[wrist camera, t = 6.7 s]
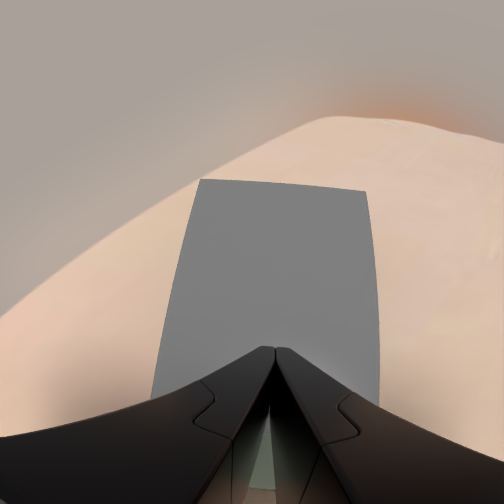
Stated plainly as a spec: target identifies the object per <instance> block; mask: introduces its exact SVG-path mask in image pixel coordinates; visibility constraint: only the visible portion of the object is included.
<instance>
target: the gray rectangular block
mask: <svg viewBox="0 0 504 504" xmlns="http://www.w3.org/2000/svg"><path fill="white" fill-rule="evenodd" d="M259 346H273V347H275V348H276V347H287V348H291V349H292V350H293V351H295V352H296V353H298V354H299V355H301V356H302V357H303V358H305V359H306V360H308V361H309V362H311V363H312V364H313V365H315V366H316V367H318V368H319V369H321V370H322V371H324V372H325V373H327V374H328V375H329V376H331V377H332V378H334V379H335V380H337V381H338V382H340V383H341V384H343V385H344V386H346V387H347V388H349V389H350V390H352V391H353V392H356V393H357V394H359V395H360V396H362V397H363V398H365V399H367V400H368V401H370V402H372V403H373V404H375V405H377V406H378V407H379V379H380V342H379V312H378V294H377V280H376V269H375V258H374V248H373V239H372V231H371V223H370V216H369V209H368V202H367V196H366V192H364V191H356V190H348V189H339V188H329V187H319V186H308V185H297V184H285V183H271V182H256V181H238V180H216V179H200V182H199V185H198V189H197V192H196V196H195V199H194V203H193V206H192V210H191V214H190V217H189V221H188V225H187V229H186V232H185V236H184V240H183V244H182V248H181V252H180V256H179V260H178V264H177V269H176V273H175V277H174V281H173V286H172V290H171V295H170V299H169V304H168V308H167V313H166V318H165V323H164V328H163V332H162V337H161V343H160V348H159V353H158V358H157V364H156V370H155V375H154V381H153V387H152V393H151V399H154V398H157V397H160V396H162V395H165V394H168V393H170V392H173V391H175V390H177V389H180V388H182V387H184V386H186V385H188V384H190V383H192V382H194V381H196V380H199V379H201V378H203V377H205V376H207V375H209V374H211V373H213V372H214V371H216V370H218V369H220V368H222V367H224V366H226V365H227V364H229V363H231V362H233V361H235V360H236V359H238V358H240V357H242V356H244V355H245V354H247V353H249V352H251V351H252V350H254V349H256V348H258V347H259ZM151 399H150V400H151ZM269 409H270V407H269ZM264 433H267V434H271V431H270V419H269V414H268V419H267V423H266V427H265V430H264Z"/></svg>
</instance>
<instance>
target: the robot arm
mask: <svg viewBox="0 0 504 504" xmlns="http://www.w3.org/2000/svg"><path fill="white" fill-rule="evenodd" d="M269 407H270V409H269ZM268 414H269V419H270V431H271V443H272V454H273V466H274V478H275V489H276V501H277V504H504V462H503V461H500V460H497V459H495V458H492V457H489V456H487V455H484V454H482V453H479V452H477V451H474V450H472V449H469V448H467V447H464V446H462V445H460V444H457V443H455V442H452V441H450V440H448V439H446V438H443V437H441V436H439V435H436V434H434V433H432V432H430V431H428V430H425V429H423V428H421V427H419V426H417V425H415V424H413V423H410V422H408V421H406V420H404V419H402V418H400V417H398V416H396V415H394V414H392V413H390V412H388V411H386V410H384V409H382V408H380V407H378V406H377V405H375V404H373V403H372V402H370V401H368V400H367V399H365V398H363V397H362V396H360V395H359V394H357V393H356V392H353V391H352V390H350V389H349V388H347V387H346V386H344V385H343V384H341V383H340V382H338V381H337V380H335V379H334V378H332V377H331V376H329V375H328V374H327V373H325V372H324V371H322V370H321V369H319V368H318V367H316V366H315V365H313V364H312V363H311V362H309V361H308V360H306V359H305V358H303V357H302V356H301V355H299V354H298V353H296V352H295V351H293V350H292V349H291V348H287V347H276V348H275V347H273V346H259V347H258V348H256V349H254V350H252V351H251V352H249V353H247V354H245V355H244V356H242V357H240V358H238V359H236V360H235V361H233V362H231V363H229V364H227V365H226V366H224V367H222V368H220V369H218V370H216V371H214V372H213V373H211V374H209V375H207V376H205V377H203V378H201V379H199V380H196V381H194V382H192V383H190V384H188V385H186V386H184V387H182V388H180V389H177V390H175V391H173V392H170V393H168V394H165V395H162V396H160V397H157V398H154V399H151V400H148V401H145V402H142V403H139V404H136V405H133V406H130V407H127V408H123V409H120V410H117V411H114V412H110V413H107V414H103V415H100V416H96V417H93V418H89V419H85V420H81V421H77V422H74V423H69V424H65V425H61V426H57V427H53V428H48V429H44V430H39V431H34V432H29V433H24V434H19V435H13V436H7V437H0V504H243V502H244V499H245V495H246V492H247V489H248V486H249V482H250V479H251V476H252V472H253V469H254V466H255V462H256V459H257V455H258V452H259V448H260V445H261V441H262V438H263V434H264V430H265V427H266V423H267V419H268Z"/></svg>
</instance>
